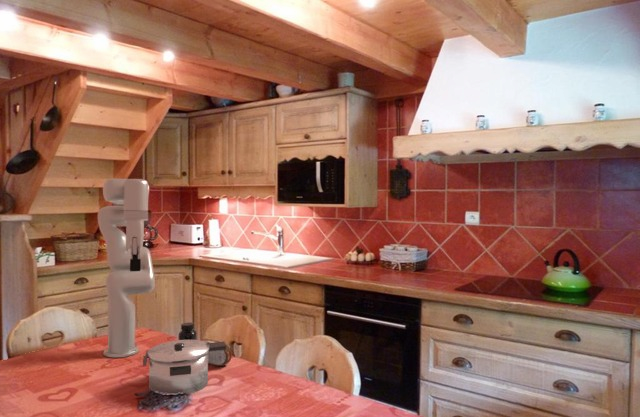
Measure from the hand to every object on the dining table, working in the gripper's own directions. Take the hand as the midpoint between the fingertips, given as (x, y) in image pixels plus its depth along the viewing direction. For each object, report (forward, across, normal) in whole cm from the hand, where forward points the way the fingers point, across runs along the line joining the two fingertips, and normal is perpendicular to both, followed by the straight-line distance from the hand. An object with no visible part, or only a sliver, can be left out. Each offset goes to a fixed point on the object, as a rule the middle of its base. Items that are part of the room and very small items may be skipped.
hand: (135, 270), depth 155 cm
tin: (+35, -4, +26) cm, 44 cm away
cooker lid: (+25, +12, +16) cm, 32 cm away
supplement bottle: (+35, -16, +18) cm, 43 cm away
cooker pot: (+35, +12, +14) cm, 40 cm away
